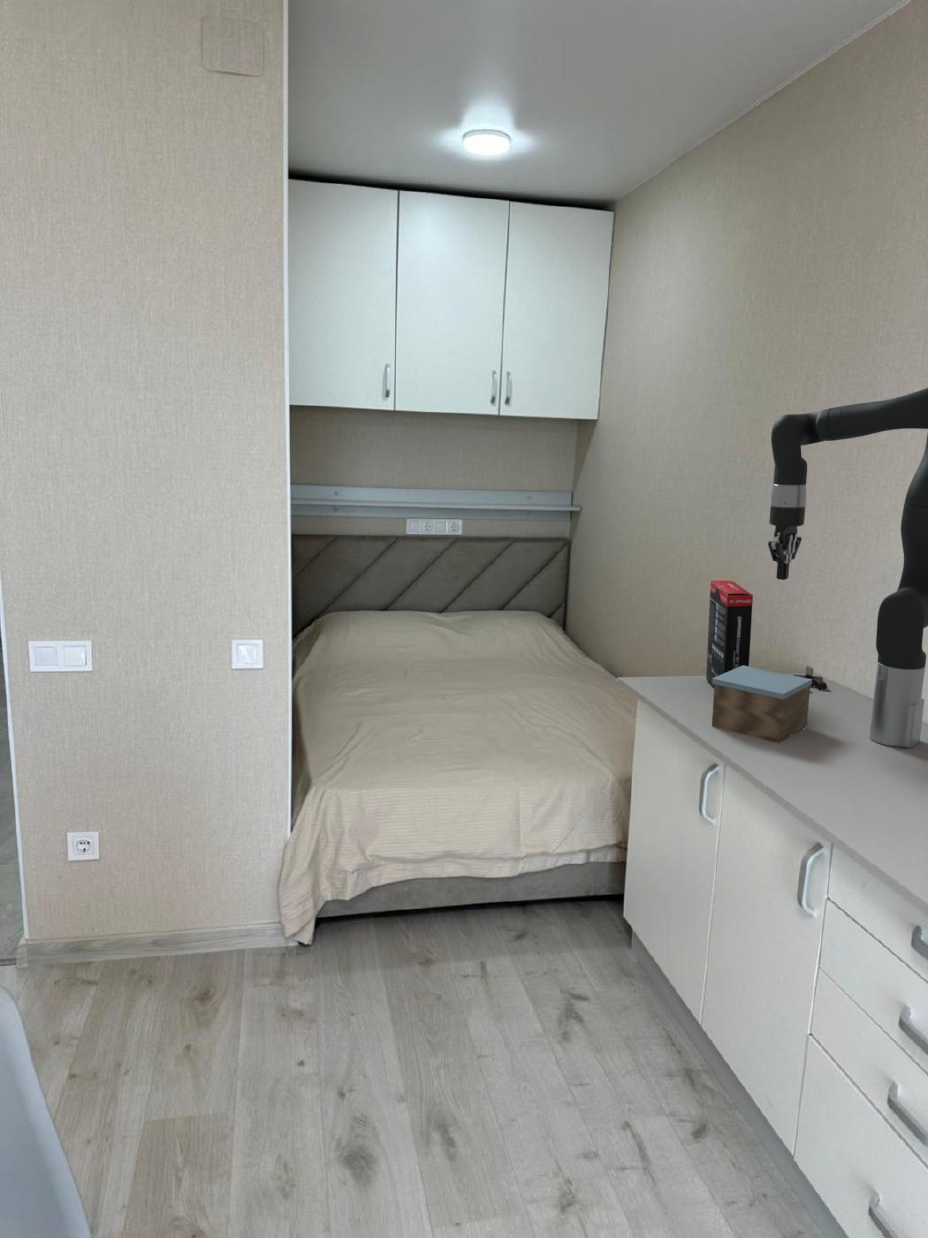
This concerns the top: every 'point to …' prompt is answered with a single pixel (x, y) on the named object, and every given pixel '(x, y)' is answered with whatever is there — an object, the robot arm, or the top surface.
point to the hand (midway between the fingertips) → (782, 579)
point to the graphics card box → (728, 628)
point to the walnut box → (760, 713)
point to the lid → (762, 682)
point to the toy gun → (814, 678)
